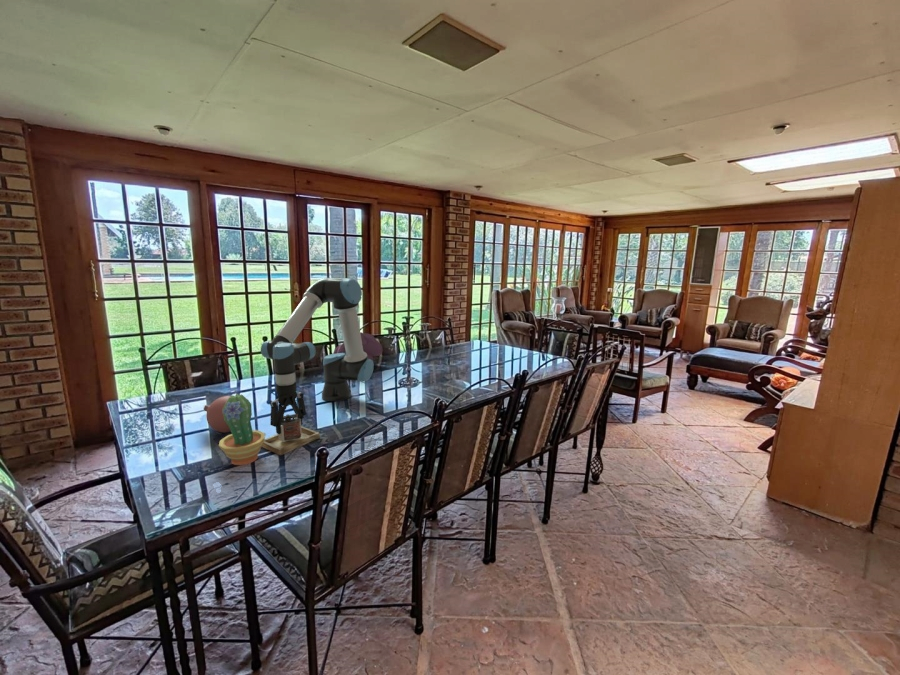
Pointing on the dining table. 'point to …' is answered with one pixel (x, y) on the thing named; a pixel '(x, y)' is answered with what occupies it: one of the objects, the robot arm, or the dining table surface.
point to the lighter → (291, 427)
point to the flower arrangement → (365, 346)
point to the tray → (289, 442)
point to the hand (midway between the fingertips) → (290, 436)
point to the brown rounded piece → (217, 415)
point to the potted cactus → (240, 432)
